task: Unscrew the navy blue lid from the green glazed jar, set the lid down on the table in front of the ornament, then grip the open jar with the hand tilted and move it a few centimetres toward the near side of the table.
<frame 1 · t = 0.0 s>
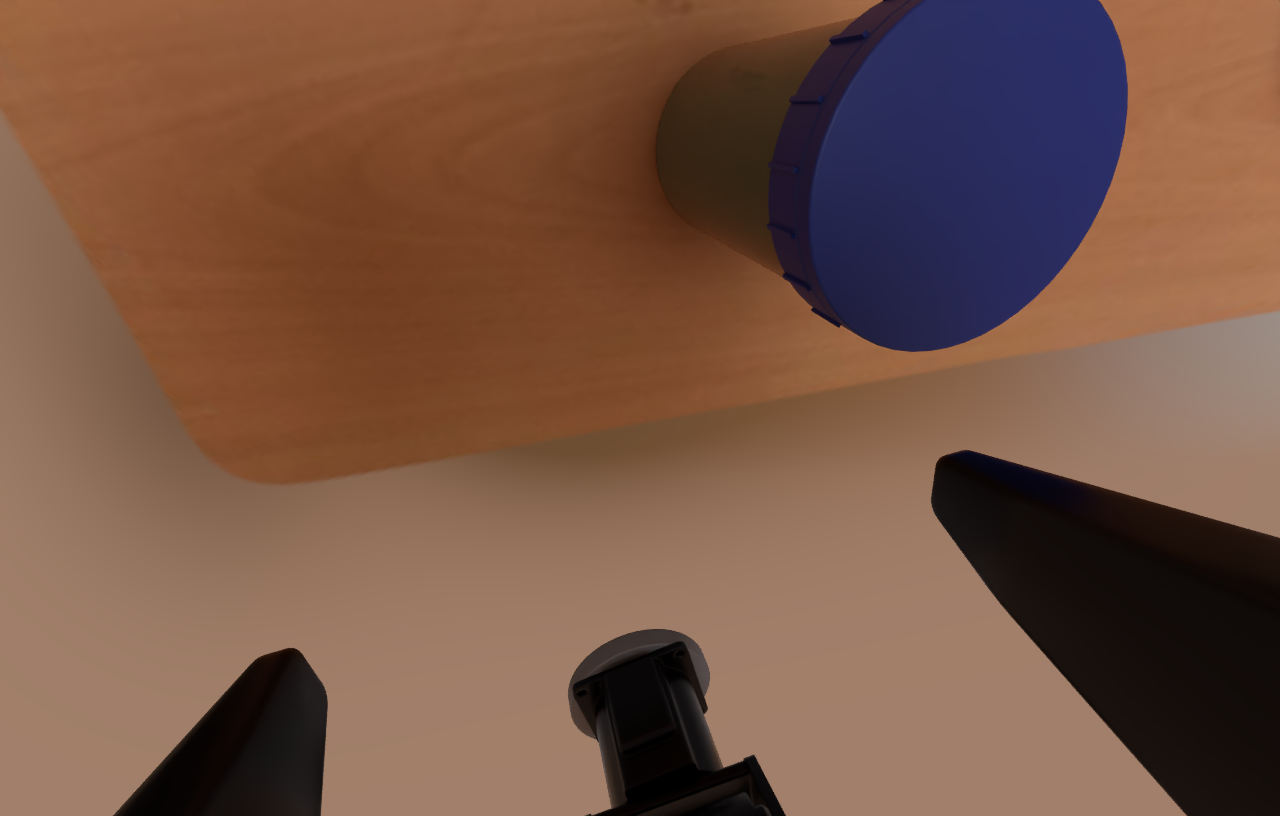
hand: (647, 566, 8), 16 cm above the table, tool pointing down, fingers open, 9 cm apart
jar: (739, 147, 21), on the table
lid: (953, 183, 12), point 11 cm above the table, screwed on, not yet turned
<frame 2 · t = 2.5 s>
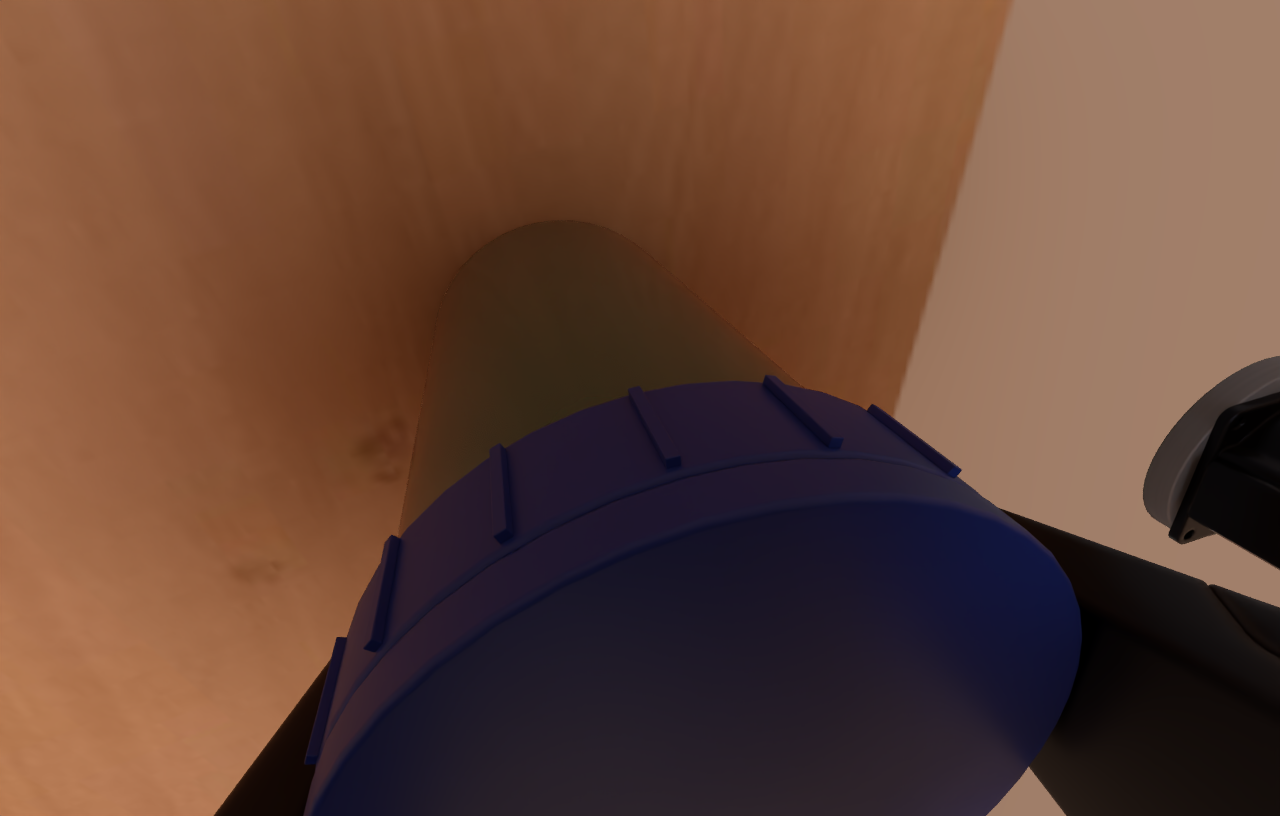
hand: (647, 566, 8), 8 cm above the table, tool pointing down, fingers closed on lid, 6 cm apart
jar: (564, 347, 15), on the table
lid: (718, 764, 5), point 11 cm above the table, screwed on, not yet turned, touching gripper
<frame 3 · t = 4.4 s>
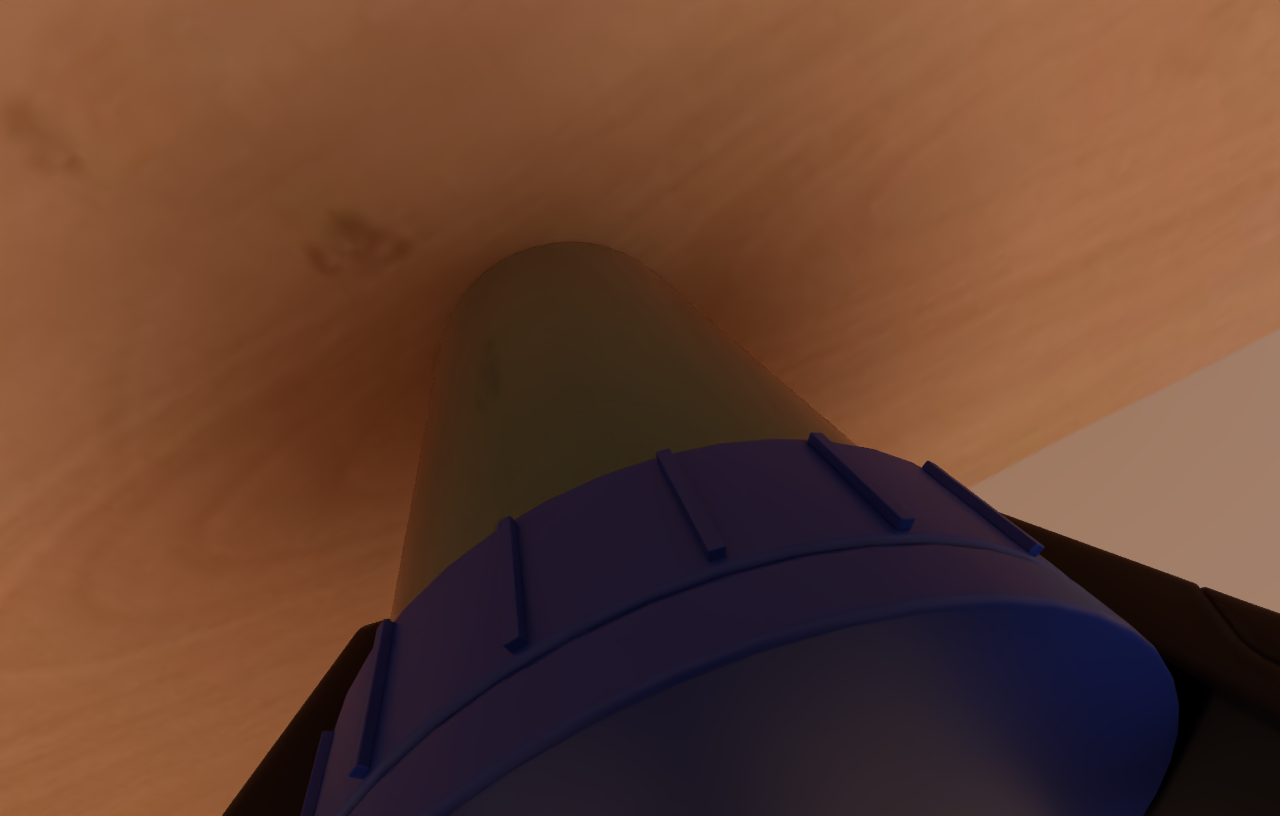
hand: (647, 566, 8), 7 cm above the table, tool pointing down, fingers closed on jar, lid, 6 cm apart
jar: (572, 371, 14), on the table, touching gripper
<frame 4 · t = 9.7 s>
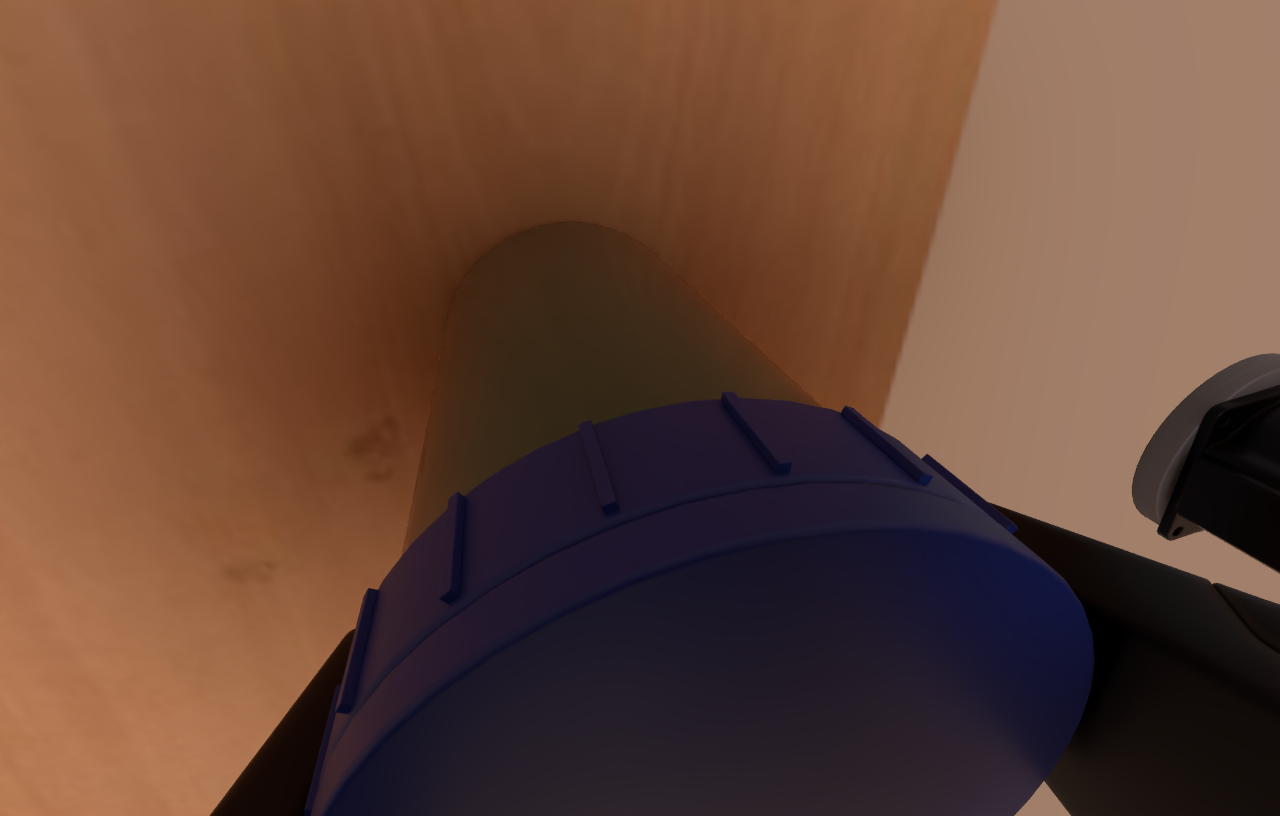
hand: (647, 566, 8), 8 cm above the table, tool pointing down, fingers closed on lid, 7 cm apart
jar: (573, 347, 15), on the table
lid: (722, 782, 5), point 11 cm above the table, turned 126° so far, risen 0.2 cm, still on its thread, touching gripper
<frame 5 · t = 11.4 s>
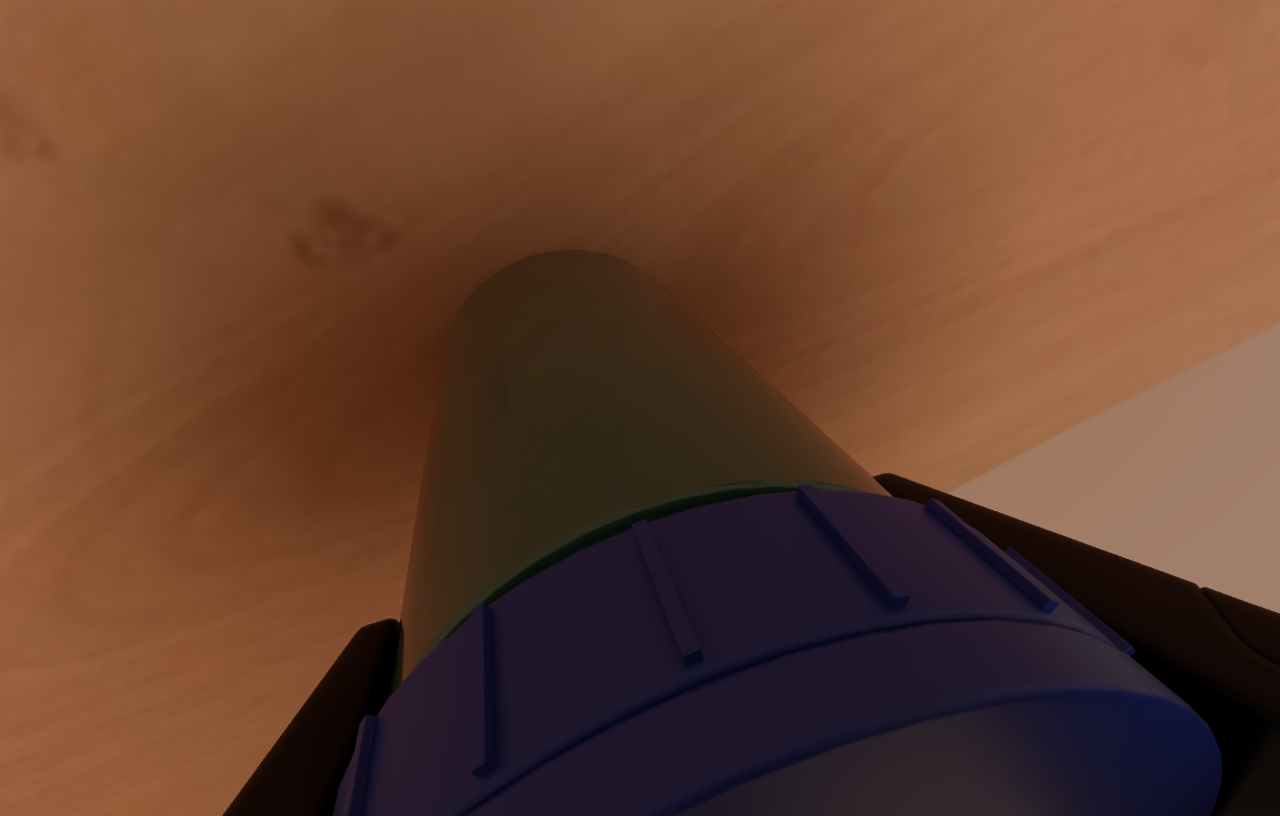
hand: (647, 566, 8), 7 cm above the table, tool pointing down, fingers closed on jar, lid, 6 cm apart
jar: (573, 379, 14), on the table, touching gripper
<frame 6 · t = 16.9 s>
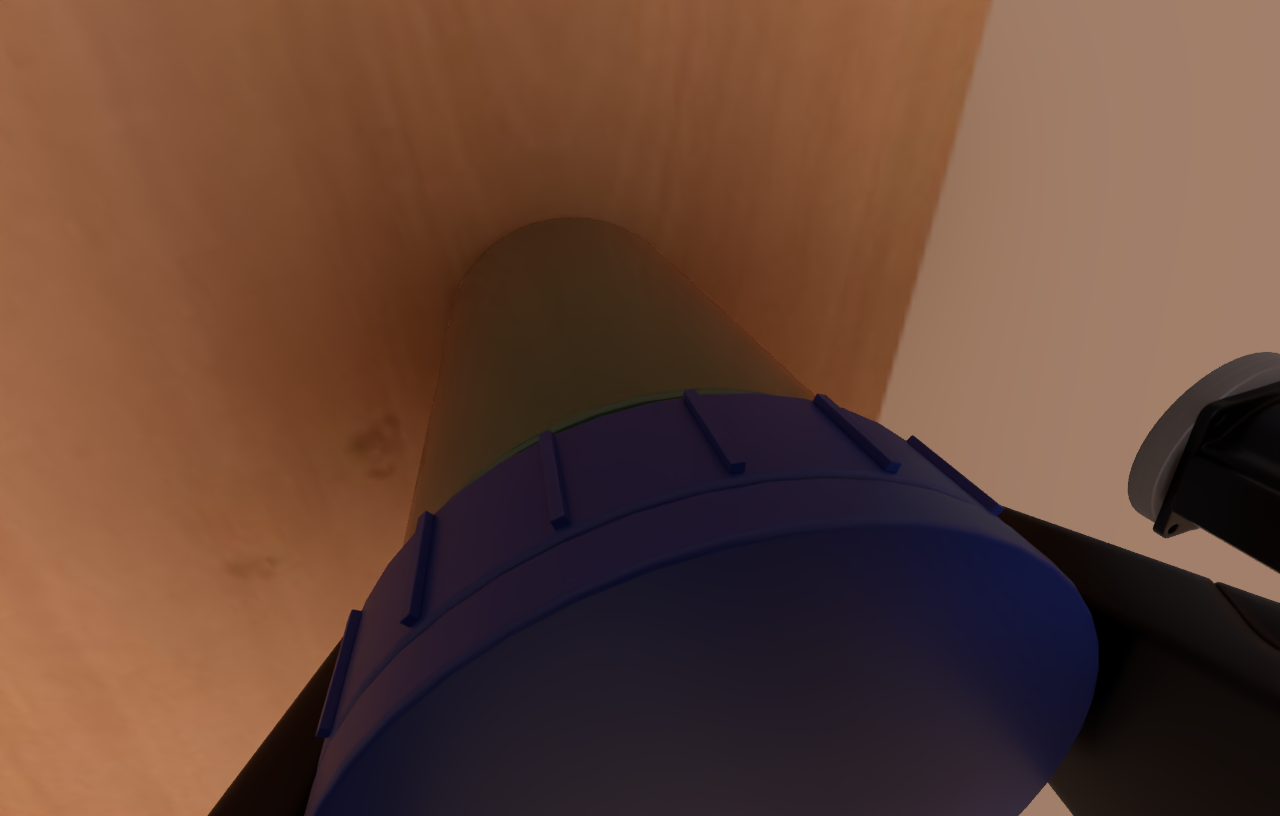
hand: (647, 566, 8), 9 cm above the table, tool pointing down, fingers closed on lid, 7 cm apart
jar: (575, 342, 15), on the table
lid: (721, 780, 5), point 11 cm above the table, turned 247° so far, risen 0.3 cm, still on its thread, touching gripper
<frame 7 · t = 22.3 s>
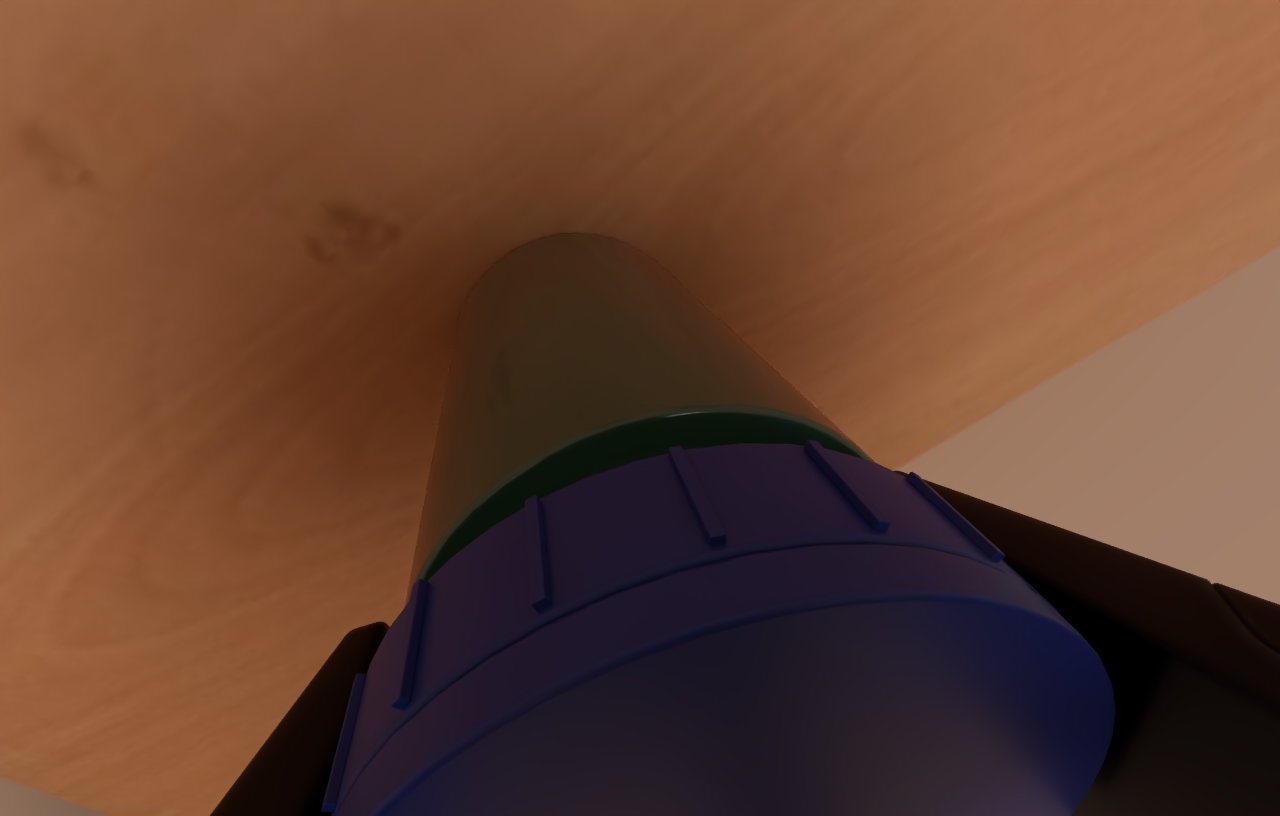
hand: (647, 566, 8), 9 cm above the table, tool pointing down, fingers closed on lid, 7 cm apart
jar: (579, 355, 15), on the table, touching gripper
when the fingers open (7 cm above the table, at t = 39.6 s): lid stays where it is, point 1 cm above the table.
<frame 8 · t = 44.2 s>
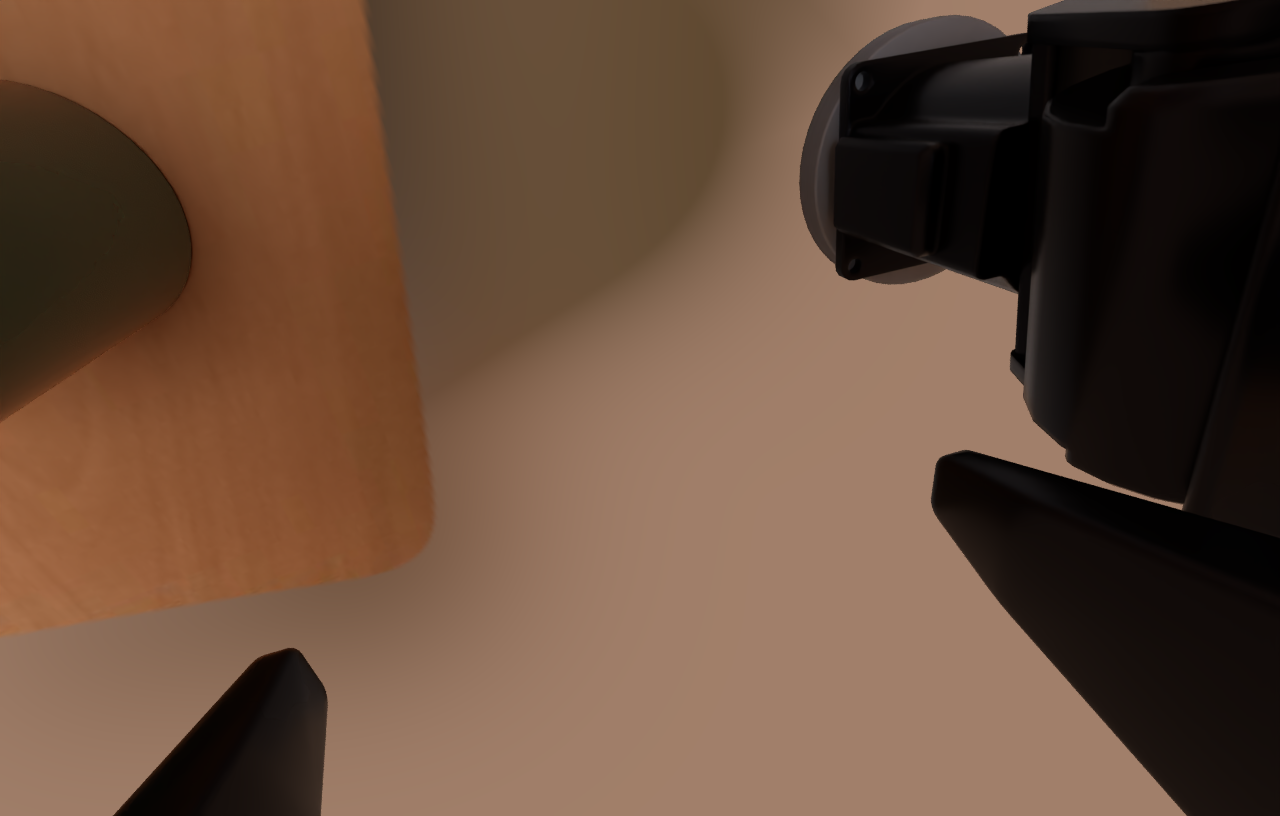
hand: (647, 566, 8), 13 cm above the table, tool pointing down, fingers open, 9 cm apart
jar: (45, 219, 15), on the table
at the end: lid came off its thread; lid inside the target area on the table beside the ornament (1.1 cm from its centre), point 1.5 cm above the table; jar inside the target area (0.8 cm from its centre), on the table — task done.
